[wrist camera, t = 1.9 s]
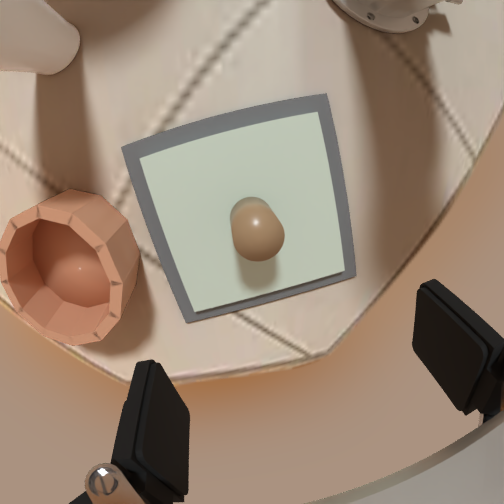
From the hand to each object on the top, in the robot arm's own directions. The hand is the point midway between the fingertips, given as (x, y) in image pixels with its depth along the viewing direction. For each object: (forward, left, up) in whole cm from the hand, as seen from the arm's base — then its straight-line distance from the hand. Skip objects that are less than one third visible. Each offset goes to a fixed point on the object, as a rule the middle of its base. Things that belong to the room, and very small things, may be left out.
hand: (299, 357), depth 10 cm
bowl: (+17, -1, -18) cm, 25 cm away
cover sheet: (0, 0, -18) cm, 18 cm away
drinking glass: (+13, -21, -18) cm, 31 cm away
